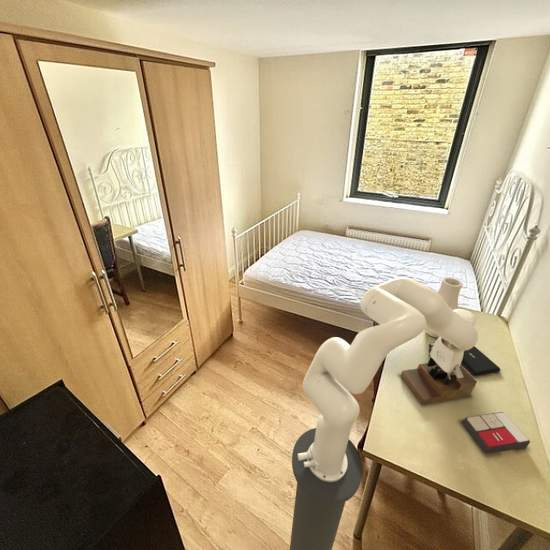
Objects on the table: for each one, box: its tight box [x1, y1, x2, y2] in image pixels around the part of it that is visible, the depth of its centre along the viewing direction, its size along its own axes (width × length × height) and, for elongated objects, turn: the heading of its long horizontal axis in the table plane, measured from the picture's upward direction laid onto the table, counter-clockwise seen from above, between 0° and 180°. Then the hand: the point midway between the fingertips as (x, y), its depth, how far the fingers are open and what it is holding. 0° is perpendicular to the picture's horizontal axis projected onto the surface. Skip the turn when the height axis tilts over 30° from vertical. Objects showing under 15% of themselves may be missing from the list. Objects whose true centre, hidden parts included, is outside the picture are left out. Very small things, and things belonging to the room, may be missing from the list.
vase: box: [424, 276, 464, 338], centre depth 137 cm, size 14×14×30 cm
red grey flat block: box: [462, 411, 531, 455], centre depth 98 cm, size 11×4×15 cm
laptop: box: [461, 345, 501, 377], centre depth 129 cm, size 16×20×2 cm
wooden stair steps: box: [400, 362, 478, 406], centre depth 114 cm, size 21×14×8 cm, turn 102°
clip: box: [430, 365, 448, 380], centre depth 113 cm, size 3×6×5 cm, turn 102°
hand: (438, 374), depth 113 cm, fingers open, 8 cm apart
